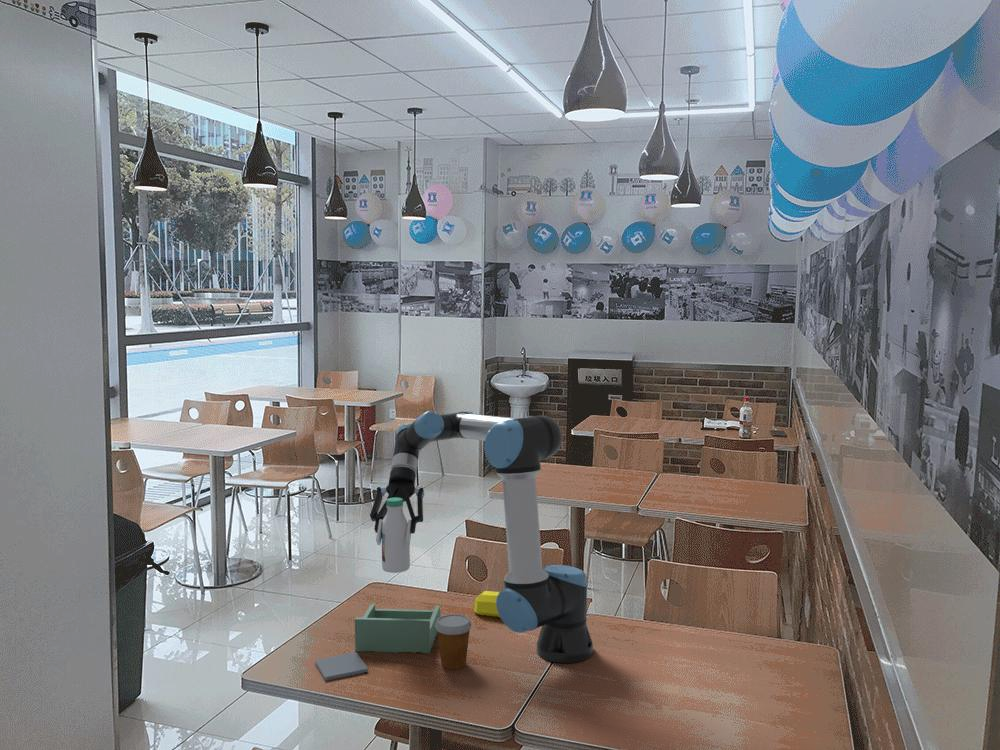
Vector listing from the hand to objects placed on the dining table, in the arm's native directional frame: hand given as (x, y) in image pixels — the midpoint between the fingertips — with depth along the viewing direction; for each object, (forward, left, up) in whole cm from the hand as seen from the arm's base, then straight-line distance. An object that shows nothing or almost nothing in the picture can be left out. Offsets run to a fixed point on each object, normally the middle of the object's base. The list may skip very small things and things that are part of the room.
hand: (392, 542), depth 229 cm
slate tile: (-9, +17, -28) cm, 35 cm away
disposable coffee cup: (-20, -10, -29) cm, 36 cm away
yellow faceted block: (+5, -35, -29) cm, 46 cm away
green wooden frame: (+3, -3, -28) cm, 29 cm away
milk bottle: (+3, -2, -9) cm, 9 cm away
